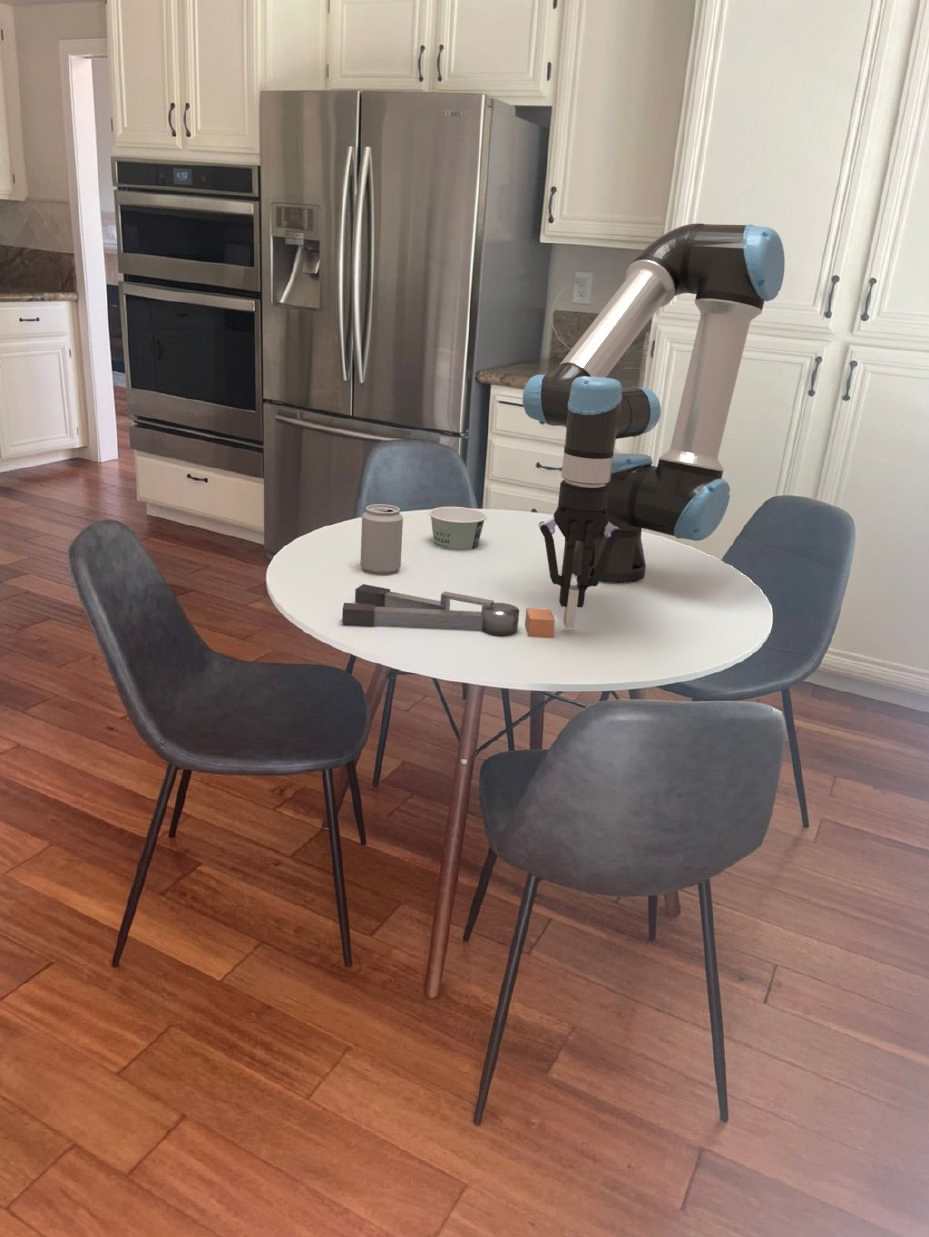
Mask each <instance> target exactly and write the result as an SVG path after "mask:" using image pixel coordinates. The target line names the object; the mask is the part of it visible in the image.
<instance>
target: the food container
mask: <svg viewBox="0 0 929 1237" xmlns="http://www.w3.org/2000/svg"><path fill="white" fill-rule="evenodd" d="M428 515H429V516H430V520H431V530H432V538H433V544H434V545H435V546H436V547H438V548H441V549H444V550H449V551H471V550H476V549H477V548H478V546H479V543H480V540H481V539H480V538H481V534H482V532H483V526H484V523H485V521H486V519H487V518H488V516H487V514H486V513H485V512H483V511H480V510H479V509H475V508H469V507H463V506H441V507H436V508H432V509H430V510H429V512H428Z"/></svg>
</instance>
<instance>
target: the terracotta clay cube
mask: <svg viewBox="0 0 929 1237" xmlns="http://www.w3.org/2000/svg"><path fill="white" fill-rule="evenodd" d="M524 618H525V619H524V620H525V621H524V627H525V631H526V634H527V637H531V638H550V639H551V638H554V635H555V634H554V633H555V625H556V618H555V616H554V614H553V611H552V609H551V608H534V607H526V610H525V617H524Z"/></svg>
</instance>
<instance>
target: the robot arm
mask: <svg viewBox="0 0 929 1237" xmlns="http://www.w3.org/2000/svg"><path fill="white" fill-rule="evenodd" d="M785 262H786V261H785V250H784V245H783V242H782V239H781V236H780V235H779V233H778V232H777V230H775V229H773V228H771V227H767V226H759V225H754V224H750V223H749V224H711V223H710V224H709V223H707V224H705V223H698V222H697V223H690V224H685V225H682V226H679V227H676V228H674V229H672V230H670V231H668V232H666V233H665V234H663V235H662V236H661V237H659V238H656V239H655V240H654V241H653V242H652V243H650V244H649V245H647V246H646V248H644V249H643V250H642V251H641V252H640V253H639V254H638V255H637V256H636V257H635V258H634V260H633V261H632V262H631V263H630V264H629V266H628V268H627V269H626V271H625V280H624V281H623V283H622V284H621V286H620V287H619V288H618V290H617V291H616V292H615V293H614V295H613V296H612V297H611V298H610V300H609V301H608V302H607V304H605V306H604V307H603V309H602V310H601V311H600V313H599V314H598V315H597V316H596V317H595V319H594V320H593V321H592V323H591V324H590V325H589V327H588V328H587V329H586V330H585V332H584V333H583V334H582V336H580V338H579V339H578V340H577V341H576V343H575V344H574V346H573V347H572V348H571V349H570V351H569V352H568V353H567V355H566V356H565V357H564V358H563V360H562V361H560V363H559V365H558V366H557V367H556V368H555V370H554V371H553V372H552V374H550V375H549V374H546V373H544V374H535V375H534V376H532V377H530V378H529V379H528V381H526V383H525V386H524V389H523V393H522V407H523V409H524V412H525V414H526V415H527V417H528V418H530V419H532V420H535V421H538V422H542V423H545V424H548V425H552V424H553V425H558V426H563V427H566V429H565V442H564V446H563V458H562V466H561V474H560V476H561V477H562V478H563V479H562V480H561V482H560V483H559V484H560V485H559V493H558V494H559V495H558V501H557V508H556V510H555V512H554V513H553V516H552V518H550V519H548V520H546V521H540V522H539V523H538V528H539V530H540V532H541V534H542V536H543V537H544V543H545V550H546V557H547V563H548V572H549V577H550V580H551V583H552V584H553V585H557V586H559V587H560V589H559V590H560V591H559V597H558V602H559V604H560V607H563V608H564V611H563V612H564V613H563V620H562V623H563V625H564V629H575V628H576V621H577V620H576V619H577V610H578V608H580V609H583V606H584V604H585V597H586V590H587V589H588V588H590V587H596V586H598V584H599V583H606V584H631V583H636V582H640V581H642V580H644V578H645V576H646V568H647V566H646V565H647V563H646V559H645V553H644V548H643V542H642V530H643V529H644V530H648V531H651V532H652V531H653V532H656V533H660V534H664V535H667V536H672V537H675V538H676V539H685V540H688V541H689V540H690V541H695V542H698V541H703V540H705V539H707V538H708V537H709V536H711V535H712V534H713V533H714V532H715V530H716V529H717V528H718V526H720V524H721V522H722V520H723V518H724V516H725V514H726V511H727V509H728V506H729V503H730V497H731V495H730V491H731V488H730V485H729V483H728V482H727V481H726V480H725V479H724V478H723V474H724V470H725V469H724V468H723V465H722V464H721V463H720V460H719V458H718V457H719V455H720V454H719V453H720V450H721V449H720V448H721V445H722V442H723V441H722V440H723V437H724V433H725V429H726V428H725V427H726V425H727V420H728V415H729V413H730V409H731V408H730V407H731V405H732V404H731V403H732V399H733V395H734V391H735V387H736V383H737V378H738V375H739V369H740V367H741V366H740V365H741V363H742V362H741V361H742V357H743V354H744V349H745V346H746V341H747V336H748V332H749V328H750V324H751V323H752V321H753V320H754V319H756V318H757V317H758V316H759V315H761V314H762V313H763V308H764V305H765V302H770V301H773V300H775V299H776V298H777V296H778V295H779V292H780V291H781V289H782V286H783V281H784V276H785V267H786V266H785ZM684 294H691V295H695V299H694V304H695V306H696V308H697V309H698V311H699V313H700V316H699V320H698V323H697V324H698V325H697V328H696V334H695V339H694V341H693V345H692V349H691V350H692V351H691V355H690V359H689V364H688V368H687V373H686V377H685V381H684V387H683V391H682V395H681V399H680V403H679V408H678V411H677V415H676V416H677V418H676V421H675V426H674V430H673V434H672V439H671V442H670V443H671V444H670V448H668V451H666V452H665V453H663V454H662V455H660V456H659V458H658V462H657V466H654V465H652V464H654V463H653V458H652V456H651V455H647V454H643V453H642V454H641V453H615V446H616V445H615V444H616V440H619V439H625V438H635V437H640V436H641V435H643V434H647V433H649V432H651V431H652V430H653V429H654V428H655V427H656V426H657V424H658V423H659V421H660V418H661V414H662V413H661V411H662V407H661V402H660V400H659V397H658V396H657V394H656V393H655V392H654V391H652V390H651V389H650V388H647V387H644V386H643V387H642V386H639V387H638V386H635V385H634V386H630V387H623V386H622V384H621V382H620V381H619V380H618V379H615V378H612V377H611V378H610V377H607V376H609V374H610V373H611V371H612V370H613V369H614V368H615V366H616V365H617V363H618V362H619V361H620V359H621V358H622V357H623V355H624V354H625V353H626V352H627V350H628V349H629V348H630V346H631V345H632V344H633V342H634V341H635V339H636V338H637V337H638V336H639V334H640V333H641V332H642V330H643V329H644V328H645V326H646V325H647V324H648V322H649V321H650V320H651V318H652V317H653V315H654V314H656V312H657V311H658V310H659V308H662V307H665V306H668V304H670V302H672V300H673V299H674V297H676V296H679V295H684ZM556 526H557V527H558V529H559V531H560V532H561V534H562V536H563V537H564V549H563V556H562V567H561V574H559V568H558V560H557V559H558V558H557V553H556V546H555V545H556V544H555V541H554V540H555V539H554V536H553V535H554V534H555V532H556ZM572 575H575V576H576V584H571V582H572Z"/></svg>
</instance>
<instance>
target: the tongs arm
mask: <svg viewBox="0 0 929 1237" xmlns="http://www.w3.org/2000/svg"><path fill="white" fill-rule="evenodd" d="M354 592H355V593H354V595H355V596H354V603H359V604H375V607H395V608H415V609H435V610H450V609H451V600H452V601H457V602H463V603H467V604H473V605H478V606H487V607H491V606H492V605H493V604H494V603H495V600H492V599H487V598H482V597H477V596H472V595H466V594H461V593H456V592H455V593H454V592H451V591H446V590H444V591H443V592H442V593H441V594H440V600H438V599H437V600H436V599H431V598H427V597H423V596H422V597H421V596H415V595H411V594H406V593H400V592H394V591H391V589H390V588H385V587H381V586H375V585H370V584H367V583H366V584H365V583H363V584H361V585H359V586H358V587H356V588H355V590H354Z"/></svg>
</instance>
